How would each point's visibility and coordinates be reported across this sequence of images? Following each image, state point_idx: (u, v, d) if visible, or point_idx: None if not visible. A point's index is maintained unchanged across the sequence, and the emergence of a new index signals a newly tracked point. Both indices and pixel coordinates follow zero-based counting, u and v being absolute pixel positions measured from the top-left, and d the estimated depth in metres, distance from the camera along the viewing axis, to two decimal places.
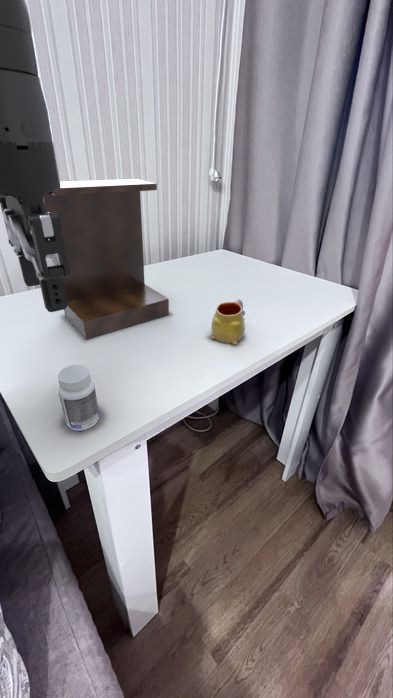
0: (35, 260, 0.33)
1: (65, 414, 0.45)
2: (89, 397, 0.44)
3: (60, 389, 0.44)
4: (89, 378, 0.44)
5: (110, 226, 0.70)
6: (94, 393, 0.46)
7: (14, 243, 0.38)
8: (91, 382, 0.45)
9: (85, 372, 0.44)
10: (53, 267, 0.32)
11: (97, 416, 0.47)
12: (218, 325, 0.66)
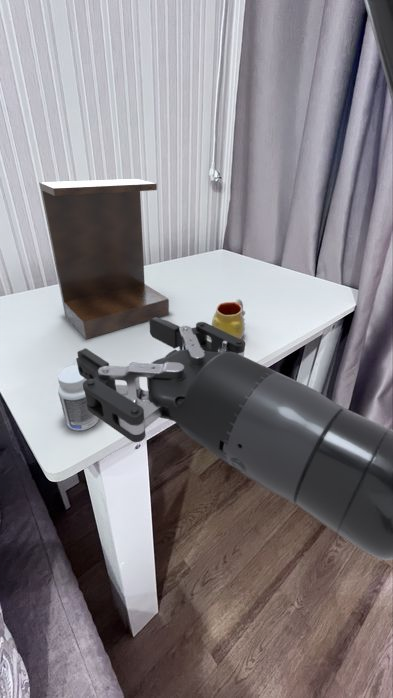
0: (119, 376, 0.26)
1: (65, 414, 0.45)
2: None
3: (60, 389, 0.44)
4: None
5: (110, 226, 0.70)
6: None
7: (182, 338, 0.31)
8: None
9: None
10: (95, 398, 0.25)
11: None
12: (218, 325, 0.66)
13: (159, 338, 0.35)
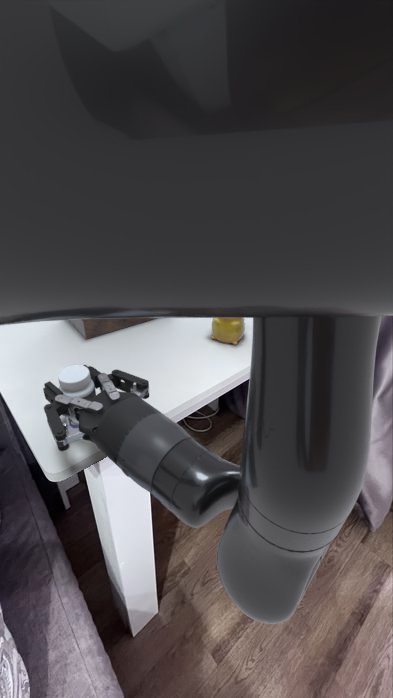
0: (65, 403, 0.41)
1: None
2: (89, 397, 0.44)
3: (60, 389, 0.44)
4: (89, 378, 0.44)
5: None
6: (94, 393, 0.46)
7: (102, 384, 0.44)
8: (91, 382, 0.45)
9: (85, 372, 0.44)
10: None
11: None
12: (218, 325, 0.66)
13: None
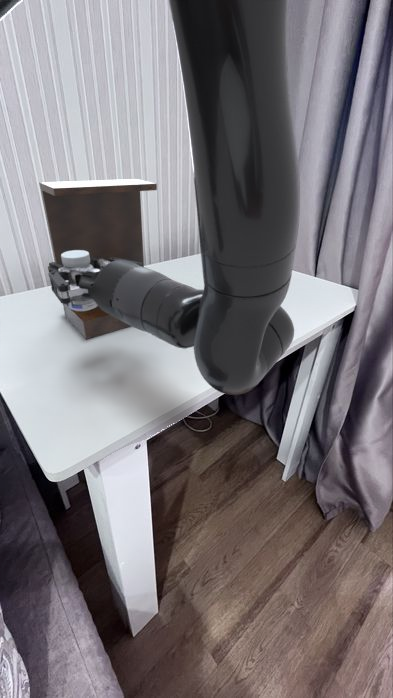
0: (67, 272, 0.46)
1: None
2: None
3: None
4: (89, 259, 0.49)
5: (110, 226, 0.70)
6: None
7: (100, 263, 0.49)
8: (91, 265, 0.50)
9: (85, 253, 0.49)
10: None
11: None
12: None
13: None
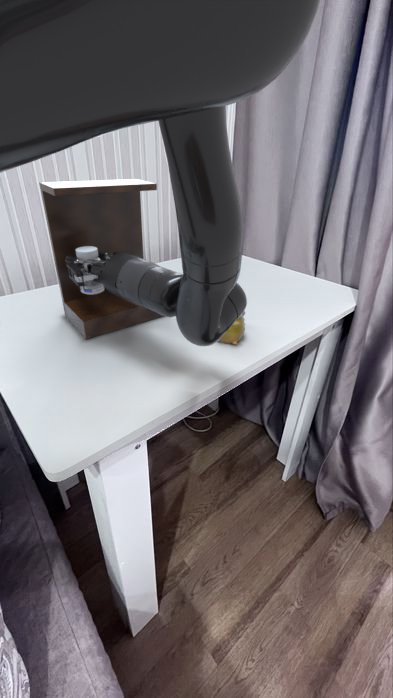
0: (81, 262, 0.59)
1: None
2: None
3: None
4: (97, 253, 0.63)
5: (110, 226, 0.70)
6: None
7: (106, 256, 0.62)
8: (98, 258, 0.64)
9: (94, 248, 0.63)
10: None
11: (103, 286, 0.66)
12: None
13: None
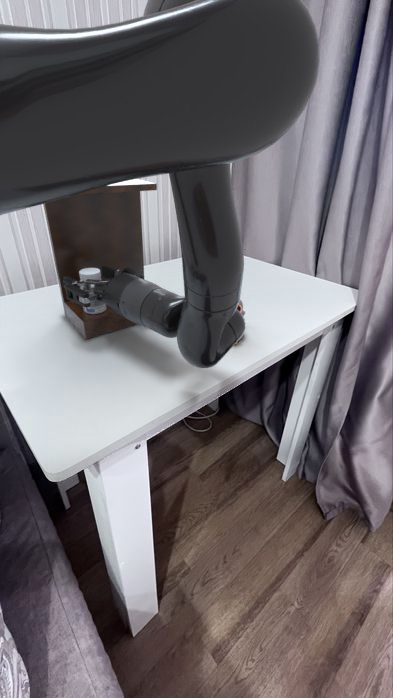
0: (81, 284, 0.60)
1: None
2: None
3: None
4: (100, 275, 0.65)
5: (110, 226, 0.70)
6: None
7: (114, 273, 0.64)
8: None
9: (97, 270, 0.65)
10: (70, 292, 0.59)
11: (105, 306, 0.68)
12: None
13: (106, 276, 0.69)
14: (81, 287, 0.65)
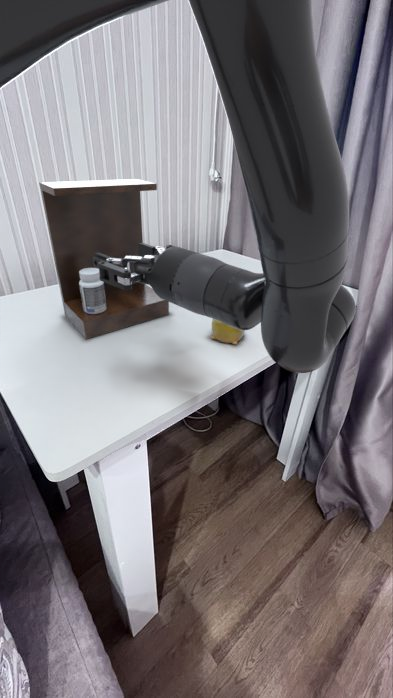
0: (118, 261, 0.46)
1: (83, 301, 0.66)
2: (100, 288, 0.65)
3: (80, 281, 0.65)
4: None
5: (110, 226, 0.70)
6: (103, 287, 0.66)
7: (156, 249, 0.51)
8: None
9: (97, 270, 0.65)
10: (104, 271, 0.46)
11: (105, 306, 0.68)
12: (218, 325, 0.66)
13: (143, 256, 0.55)
14: (81, 287, 0.65)
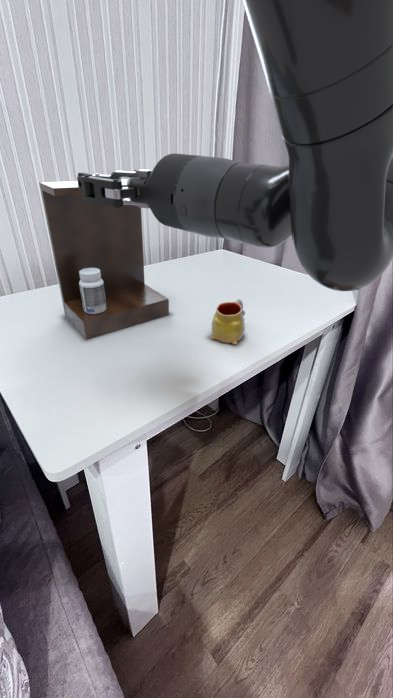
0: (107, 176, 0.37)
1: (83, 301, 0.66)
2: (100, 288, 0.65)
3: (80, 281, 0.65)
4: (100, 275, 0.65)
5: (110, 226, 0.70)
6: (103, 287, 0.66)
7: None
8: (101, 279, 0.66)
9: (97, 270, 0.65)
10: (89, 187, 0.37)
11: (105, 306, 0.68)
12: (218, 325, 0.66)
13: None
14: (81, 287, 0.65)
